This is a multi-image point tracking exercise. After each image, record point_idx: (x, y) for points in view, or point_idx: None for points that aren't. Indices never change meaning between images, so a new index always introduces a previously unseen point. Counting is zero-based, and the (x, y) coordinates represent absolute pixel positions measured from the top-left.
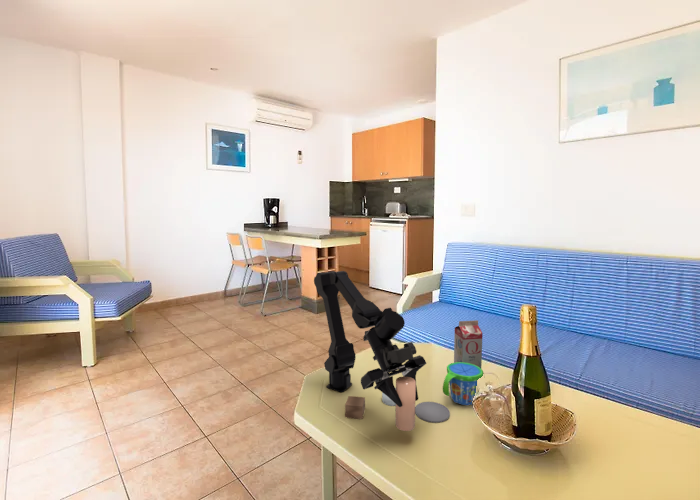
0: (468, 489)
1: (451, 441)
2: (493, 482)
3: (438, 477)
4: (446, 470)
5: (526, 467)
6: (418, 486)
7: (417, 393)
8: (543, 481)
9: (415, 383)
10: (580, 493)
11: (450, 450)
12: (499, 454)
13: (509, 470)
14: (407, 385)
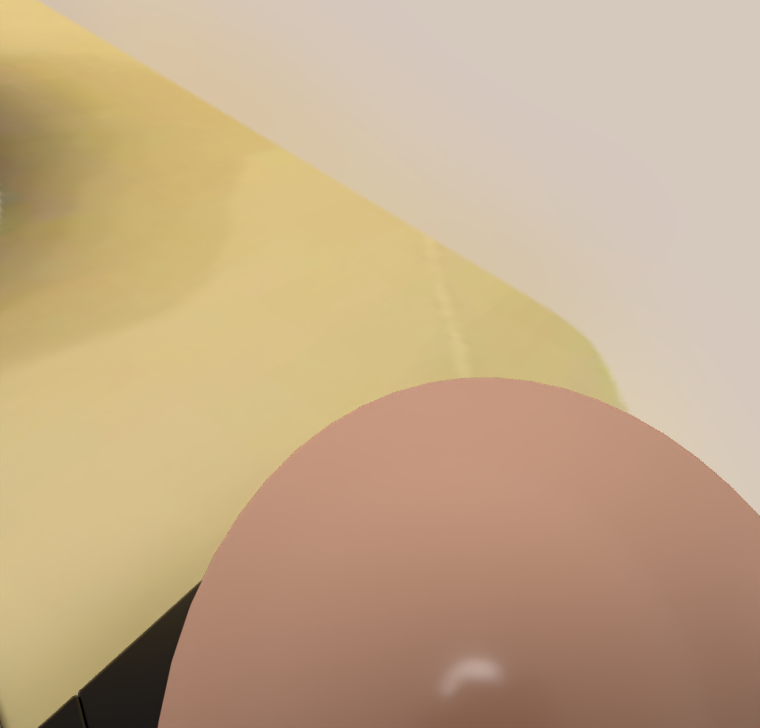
0: (372, 223)
1: (129, 434)
2: (262, 188)
3: (425, 318)
4: (361, 321)
5: (70, 146)
6: (534, 338)
7: (196, 586)
8: (113, 99)
9: (348, 421)
10: (89, 34)
11: (215, 389)
12: (56, 233)
13: (143, 176)
14: (643, 438)
